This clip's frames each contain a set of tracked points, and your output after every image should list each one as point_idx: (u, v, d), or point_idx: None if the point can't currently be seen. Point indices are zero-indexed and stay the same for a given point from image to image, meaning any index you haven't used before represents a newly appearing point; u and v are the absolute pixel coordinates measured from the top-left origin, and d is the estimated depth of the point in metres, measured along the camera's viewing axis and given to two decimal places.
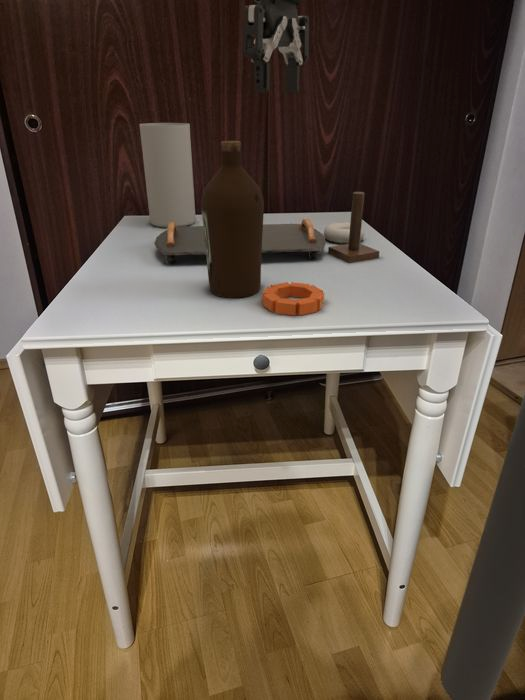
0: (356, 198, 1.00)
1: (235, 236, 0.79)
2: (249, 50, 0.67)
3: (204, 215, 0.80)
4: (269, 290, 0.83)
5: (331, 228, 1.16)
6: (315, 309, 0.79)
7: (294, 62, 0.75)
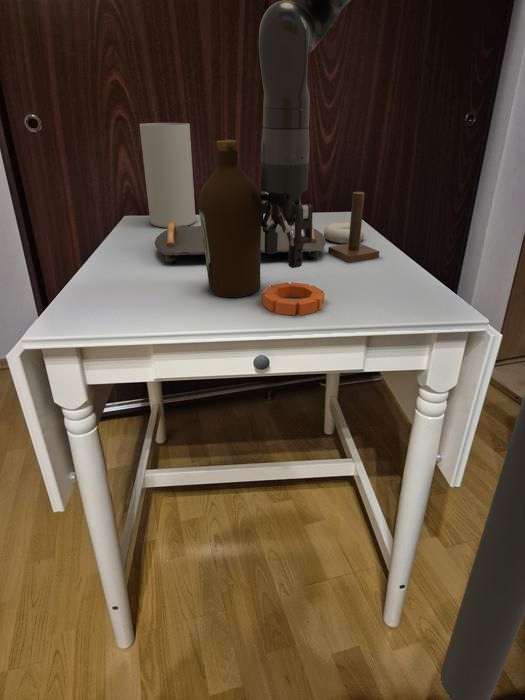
0: (356, 198, 1.00)
1: (233, 235, 0.79)
2: (304, 240, 0.75)
3: (202, 215, 0.80)
4: (269, 290, 0.83)
5: (331, 228, 1.16)
6: (315, 309, 0.79)
7: (274, 229, 0.85)
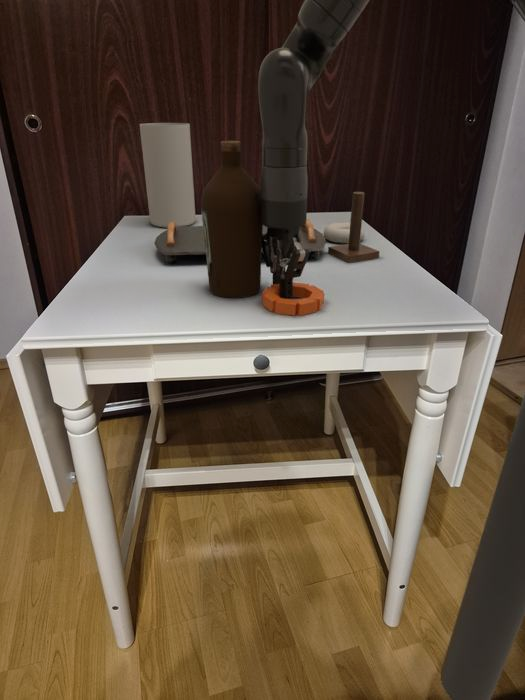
0: (356, 198, 1.00)
1: (235, 236, 0.79)
2: (293, 274, 0.80)
3: (204, 215, 0.80)
4: (269, 290, 0.83)
5: (331, 228, 1.16)
6: (315, 309, 0.79)
7: None
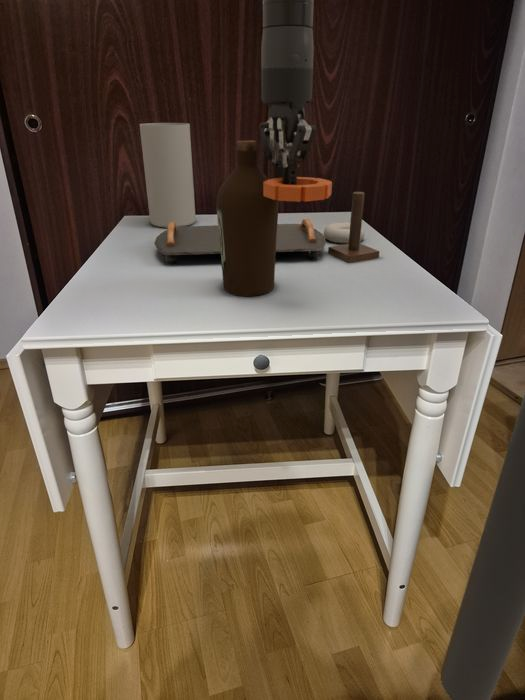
0: (356, 198, 1.00)
1: (249, 235, 0.80)
2: (298, 159, 0.72)
3: (219, 214, 0.81)
4: (270, 180, 0.75)
5: (331, 228, 1.16)
6: (322, 196, 0.71)
7: None
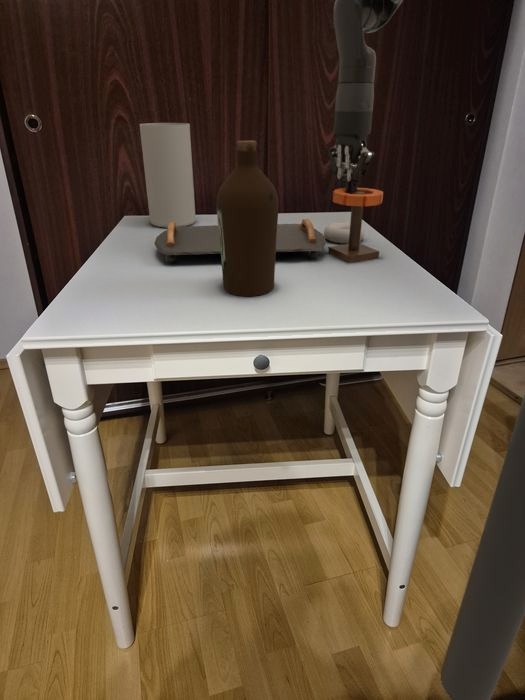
0: None
1: (249, 235, 0.80)
2: (359, 175, 0.99)
3: (219, 214, 0.81)
4: (337, 190, 1.02)
5: (331, 228, 1.16)
6: (377, 202, 0.98)
7: (347, 175, 1.04)
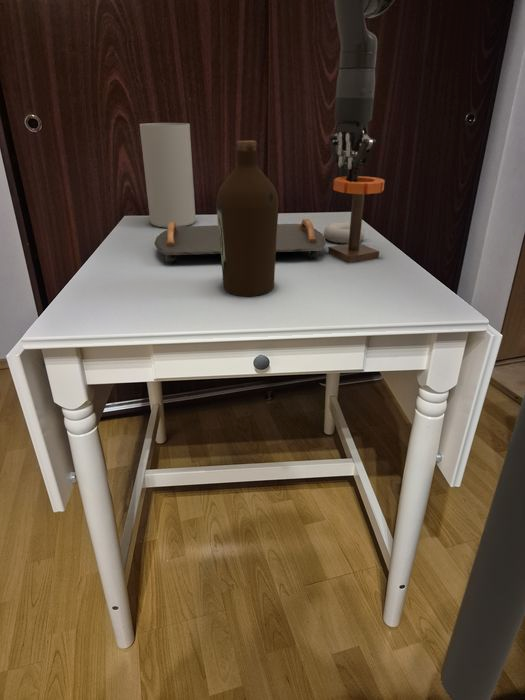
0: (356, 198, 1.00)
1: (249, 235, 0.80)
2: (360, 163, 0.98)
3: (219, 214, 0.81)
4: (338, 178, 1.01)
5: (331, 228, 1.16)
6: (379, 190, 0.97)
7: (348, 163, 1.03)
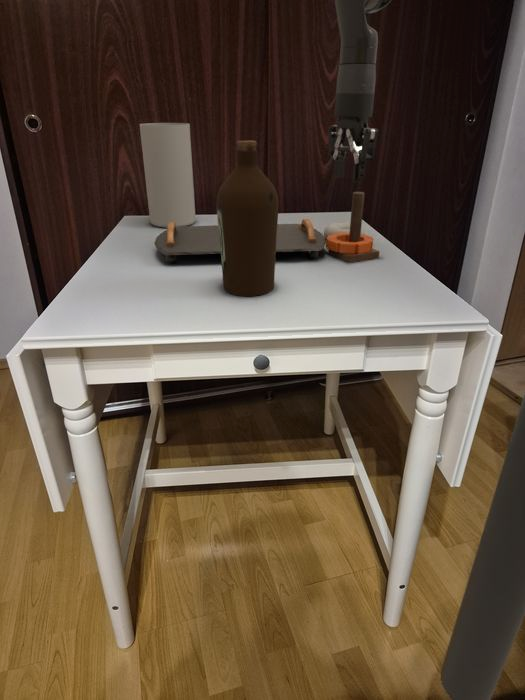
0: (356, 198, 1.00)
1: (249, 235, 0.80)
2: (367, 157, 0.96)
3: (219, 214, 0.81)
4: (330, 237, 1.08)
5: (331, 228, 1.16)
6: (369, 249, 1.04)
7: (342, 157, 1.04)
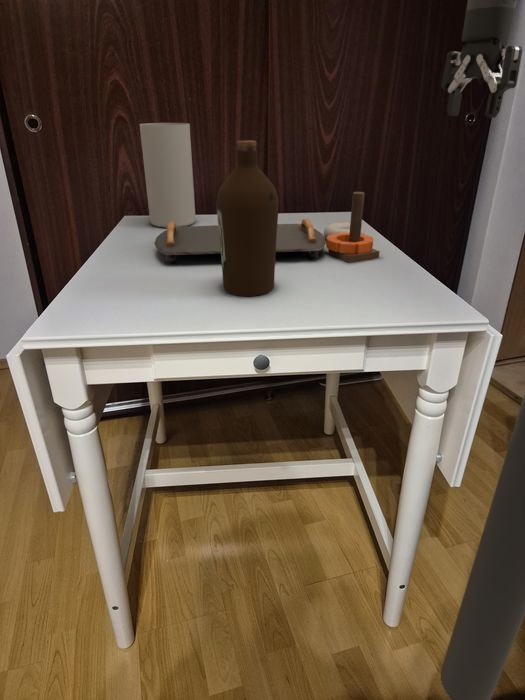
0: (356, 198, 1.00)
1: (249, 235, 0.80)
2: (510, 83, 0.79)
3: (219, 214, 0.81)
4: (330, 237, 1.08)
5: (331, 228, 1.16)
6: (369, 249, 1.04)
7: (459, 90, 0.89)
